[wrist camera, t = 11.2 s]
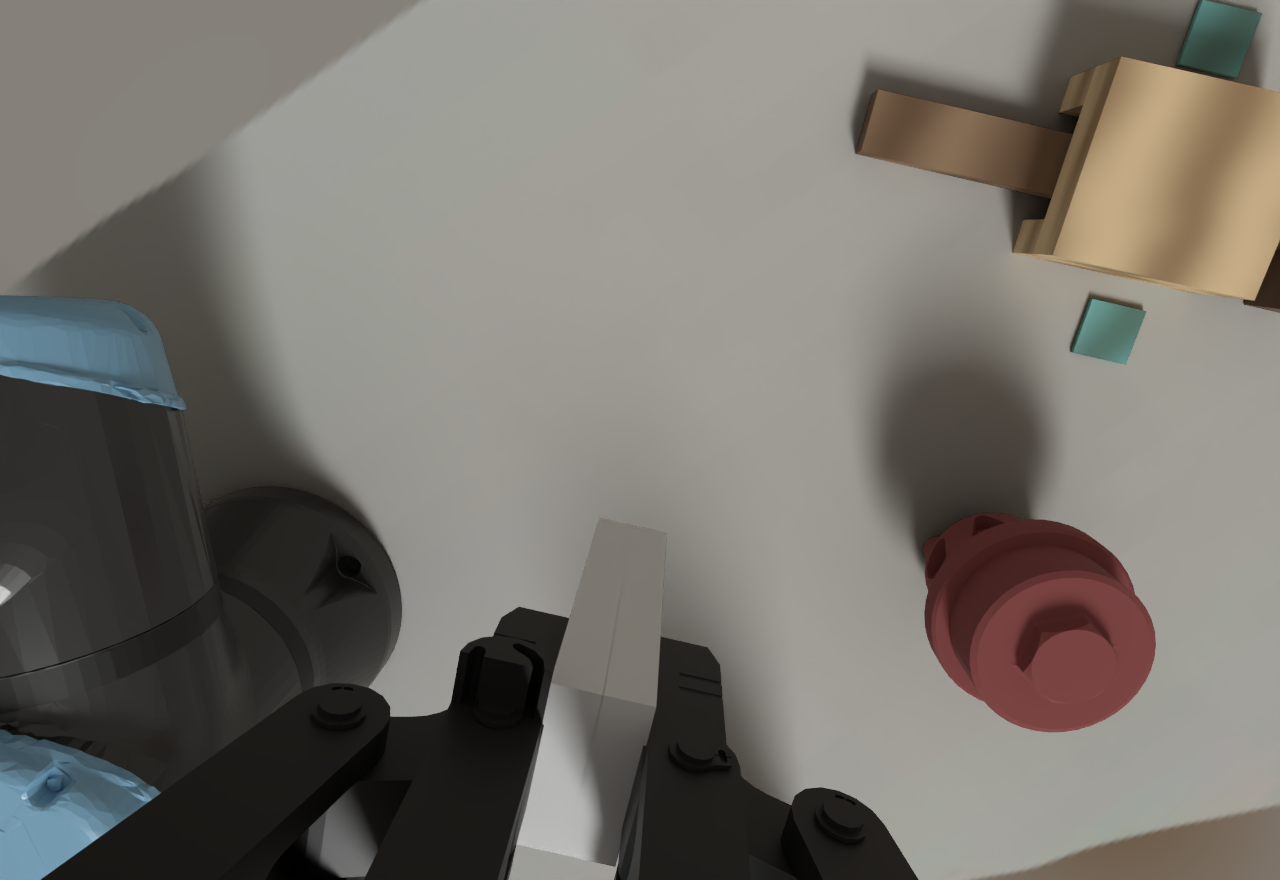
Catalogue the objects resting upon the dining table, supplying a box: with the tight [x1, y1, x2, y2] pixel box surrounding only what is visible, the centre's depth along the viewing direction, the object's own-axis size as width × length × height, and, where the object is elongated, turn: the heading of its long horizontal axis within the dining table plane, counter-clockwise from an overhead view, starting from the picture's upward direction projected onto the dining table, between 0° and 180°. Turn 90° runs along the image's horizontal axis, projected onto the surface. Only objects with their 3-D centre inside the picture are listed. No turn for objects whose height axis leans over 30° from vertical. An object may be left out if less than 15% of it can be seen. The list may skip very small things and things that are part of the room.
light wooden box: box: [1013, 56, 1280, 301], centre depth 40 cm, size 10×9×5 cm
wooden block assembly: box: [855, 0, 1280, 365], centre depth 40 cm, size 24×18×4 cm
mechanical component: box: [923, 513, 1156, 732], centre depth 42 cm, size 12×10×10 cm
